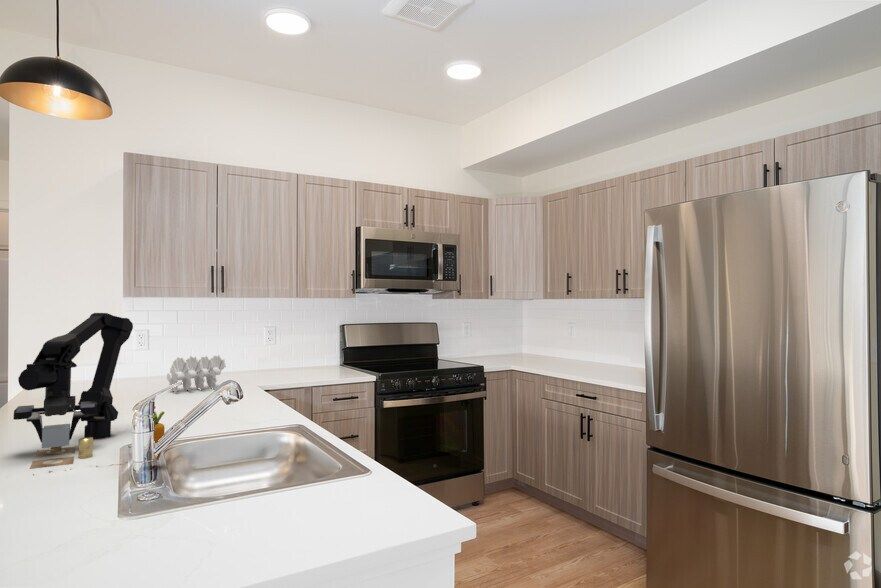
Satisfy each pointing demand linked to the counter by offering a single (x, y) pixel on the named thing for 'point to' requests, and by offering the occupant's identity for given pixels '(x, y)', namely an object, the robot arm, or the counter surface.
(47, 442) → the grey block
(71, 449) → the board
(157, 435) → the carrot
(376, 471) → the counter surface
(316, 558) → the counter surface
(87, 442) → the pin
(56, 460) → the build board
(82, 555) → the counter surface
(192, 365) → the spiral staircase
